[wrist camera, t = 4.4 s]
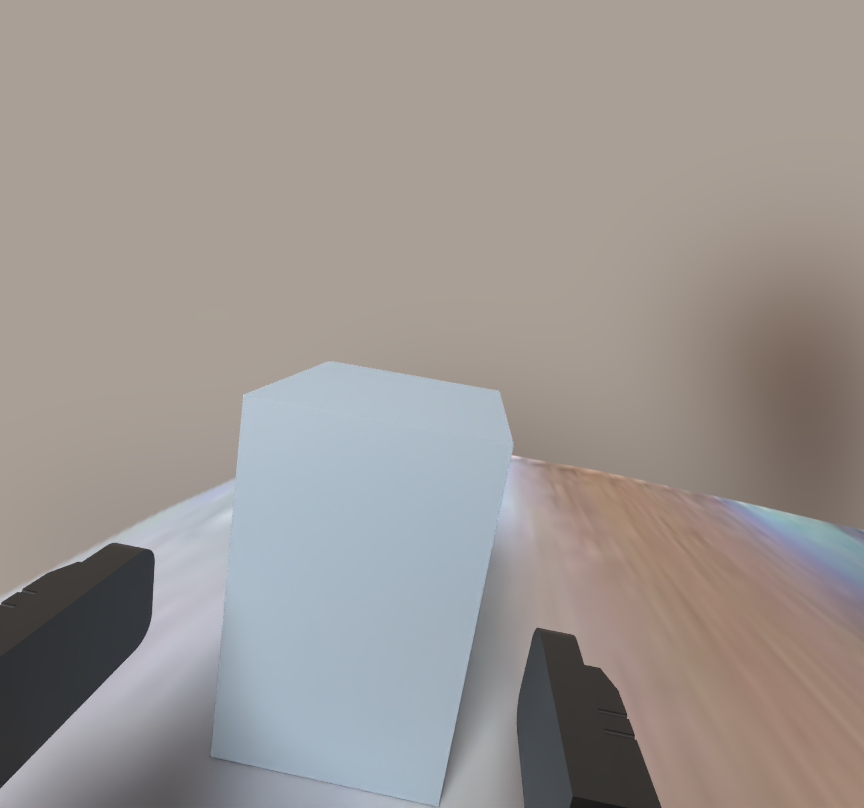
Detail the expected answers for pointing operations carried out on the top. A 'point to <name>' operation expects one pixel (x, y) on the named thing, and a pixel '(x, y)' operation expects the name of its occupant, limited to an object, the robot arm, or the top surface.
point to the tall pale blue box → (357, 574)
